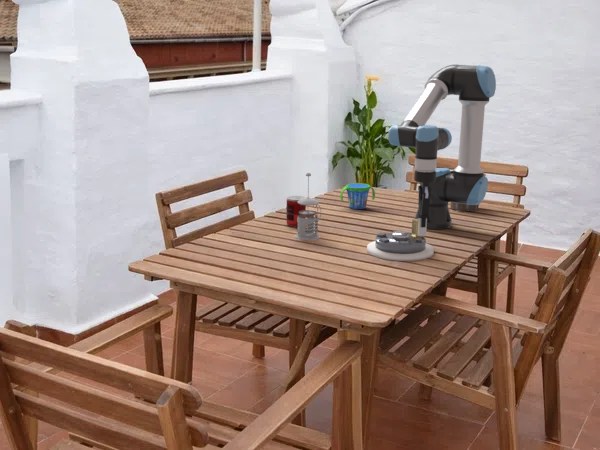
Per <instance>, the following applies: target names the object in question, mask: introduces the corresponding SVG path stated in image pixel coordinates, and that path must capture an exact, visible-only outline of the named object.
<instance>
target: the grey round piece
mask: <svg viewBox="0 0 600 450" xmlns="http://www.w3.org/2000/svg"><path fill="white" fill-rule="evenodd" d="M418 226H419V219H414V218H413V219H412V221H411V233H410V232H407V231H402V230H392V231H393V232H378V233H377V234H376V236H375V241H376V243H375V246H376V248H377V249H379V250H382V251H385V252H390V253H400V254H408V253H417V252H421V251H423V250H425V247H426V244H427V240H426V238H425V236H418Z"/></svg>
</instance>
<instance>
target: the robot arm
mask: <svg viewBox="0 0 600 450" xmlns="http://www.w3.org/2000/svg"><path fill="white" fill-rule="evenodd" d="M496 82H497V81H496V74H495V72H494V70H493V69H492V67H490V66H486V65H481V64H479V65H470V64H469V65H468V64H451V65H450V64H449V65H446V66H444V67H441V69H439V70H437V71H436V72H434V73H433V74H432V75H431V76H430V77H429V78H428V80H426V82H425V84H424V90H423V91H422V92H421V94H420V95H419V97H418V99H417V100H416V101H415V103H414V105H413V106H412V108H411V109H410V111H409V112H408V114H407V115H406V116H405V118H404V120H403V121H402V122H401V124H400V125H399V124H394V125H391V126H390V128H389V130H388V134H387V136H388V137H387V138H388V142H389V144H390V145H391V146H397V147H402V148H414V149H415V156H414V157H415V158H414V169H415V170H414V177H413V180H414V182H417V183H419V185H418V186H417V190H418V199H417V201H418V203H417V204H418V207H417V211H416V213H415V216H414V218H413V219H419V226H418V236H422V237H427V230H428V229H430V230H442V229H449V228H451V227H452V217H451V212H450V209H449V203H451V202H453V203H461V204H467V205H478V204H479V205H480V204H481V203H482V202H483V201H484V199H485V197H486V194H487V192H488V187H489V180H488V177H487V176H483V173H485V172H484V170H483V168H481V159H482V147H483V146H482V145H483V135H484V134H483V133H484V132H483V131H484V123H485V122H484V119H485V107H486V105H487V104H488V103H490V98H493V97H494V96H495V93H496V89H497V87H496V86H497V85H496V84H497V83H496ZM453 95H454V96H458V101H459V103H460V104H461V105H462V106H461V107H462V108H461V119H460V133H459V134H460V135H459V145H458V146H459V147H458V162H457V166H456V167H455V168H454V169H453V170H454V173H450V172H451V171H452V170H451V169H450V168H448V167H437V164H439V161H438V159H437V158H438V151H441V150H442V151H443V150H444V149H446V148H447V147H449V146H450V144H451V143H452V141H453V140H452V139H453V138H452V137H453V136H452V132H450V131H449V129H448V128H445V127H438V126H436V125H426V124H427V122H428V121H429V119H430V118H431V117H432V115H433V113H434V112H435V110H436V108H437V107H438V106H439V105H440V102H441V101H443V100H445V99H446V98H447V97H448V96H453Z"/></svg>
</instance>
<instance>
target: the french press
mask: <svg viewBox="0 0 600 450" xmlns="http://www.w3.org/2000/svg"><path fill="white" fill-rule="evenodd" d="M305 176H306V177H307V195H309V194H310V193H309V191H310V190H309V189H310V187H309V184H310V183H309V181H310V177H311V176H312V174H311V173H310V172H307V173H306V175H305ZM298 204H300V205H306V206H307V207H309V206H312V207H313V208H314V209H317V210H312V209H311V210H310V209H306V211H305V210H302V211H299V212H298V213H299V214H301V215H298V224H297V225H298V226H296V227H297V230H296V231H297V233H296V234H295V236H294V238H295V239H297V240H301V241H314V240H315V241H316V240H319V239H320V238H321V236H320V235H319V234H318V233H319V232H318V231H319V230H318V229H319V221H320V219H321V216H322V212H320V214H319V209H320V211H322V207H321V206H320V205H319V201H318V200H317V199H315V198H313V197H312V198H311V197H310V196H307V197H305V198H303V199H300V200H299V201H298ZM318 208H319V209H318ZM319 215H320V216H319ZM301 217H306V218H301Z"/></svg>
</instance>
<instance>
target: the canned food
mask: <svg viewBox="0 0 600 450" xmlns="http://www.w3.org/2000/svg"><path fill="white" fill-rule="evenodd" d="M303 198H306V197H305V196H302V195H289V196H287V197H286V224H287V225H288V226H290V227H298V225H297V224H298V215H301V214H299V213H298V212H299V211H302V210H305V211H306V210H307V205H300V204H298V201H299V200H300V199H303ZM301 218H306V217H301ZM306 219H307V218H306Z"/></svg>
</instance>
